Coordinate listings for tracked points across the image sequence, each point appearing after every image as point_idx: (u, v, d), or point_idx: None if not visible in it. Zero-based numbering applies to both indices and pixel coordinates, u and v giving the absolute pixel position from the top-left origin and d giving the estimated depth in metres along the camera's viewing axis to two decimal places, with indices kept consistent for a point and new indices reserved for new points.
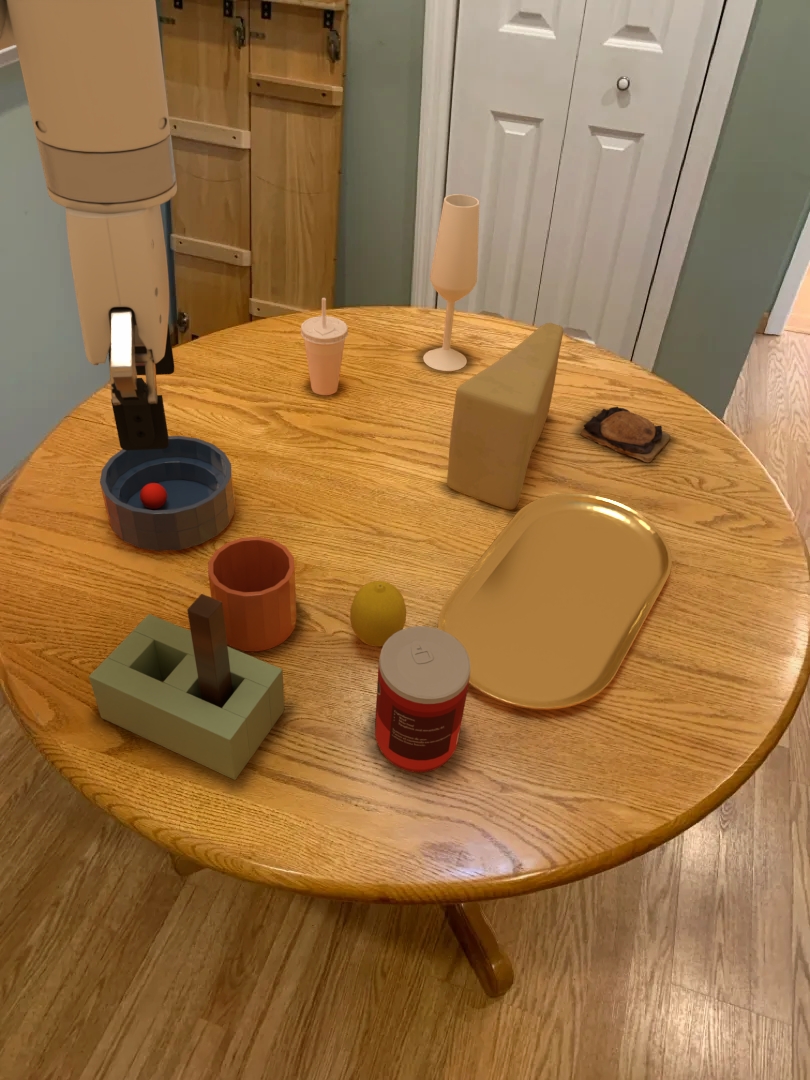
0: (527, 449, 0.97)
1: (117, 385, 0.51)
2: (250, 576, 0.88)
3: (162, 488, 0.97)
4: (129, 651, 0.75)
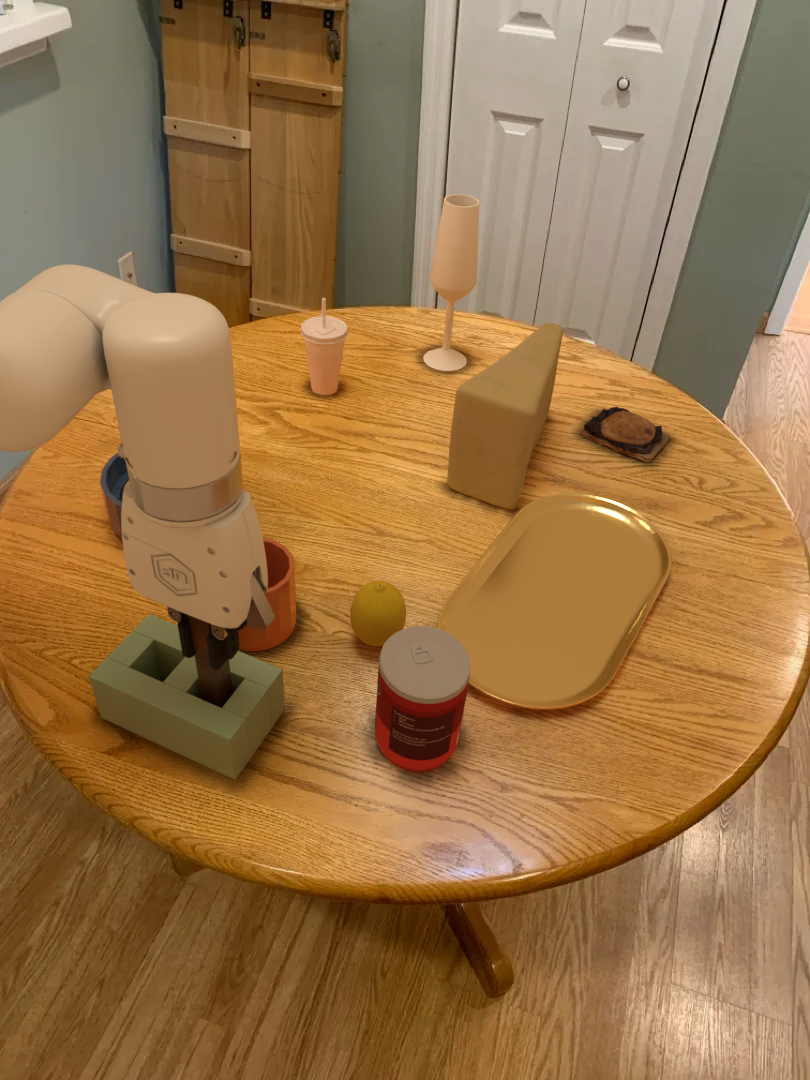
0: (527, 449, 0.97)
1: None
2: None
3: None
4: (129, 651, 0.75)
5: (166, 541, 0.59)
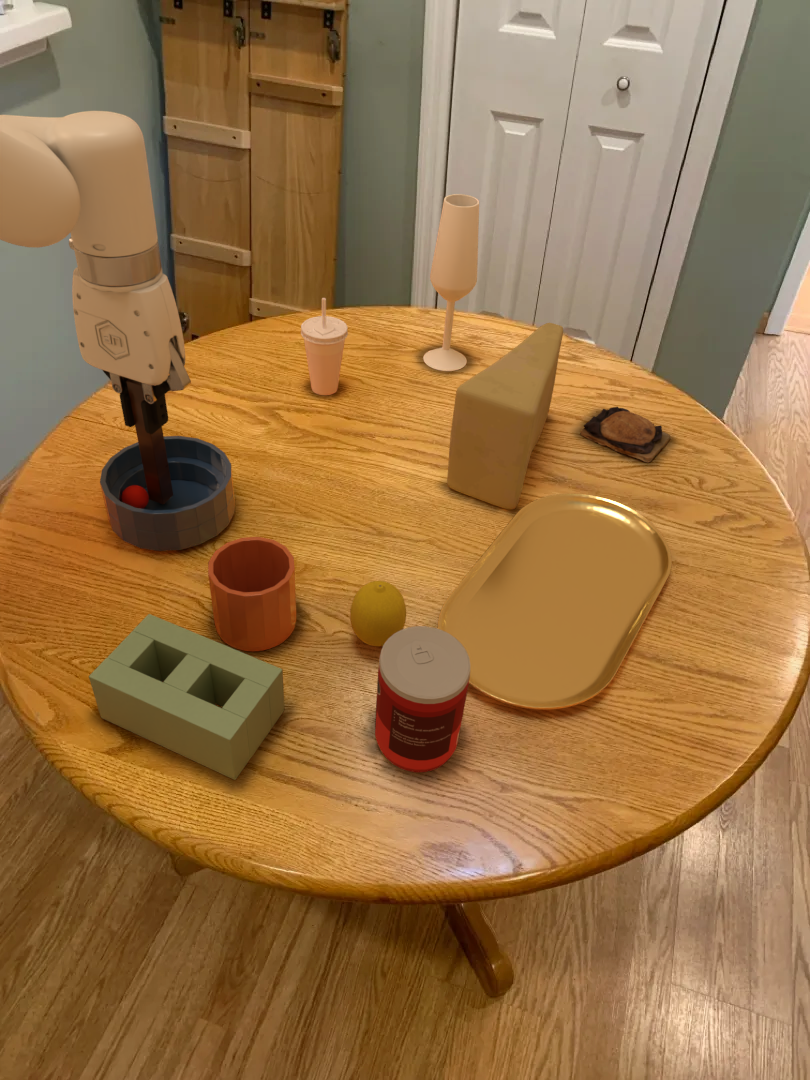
0: (527, 449, 0.97)
1: (176, 390, 0.86)
2: (250, 576, 0.88)
3: (126, 490, 0.96)
4: (129, 651, 0.75)
5: (104, 309, 0.80)
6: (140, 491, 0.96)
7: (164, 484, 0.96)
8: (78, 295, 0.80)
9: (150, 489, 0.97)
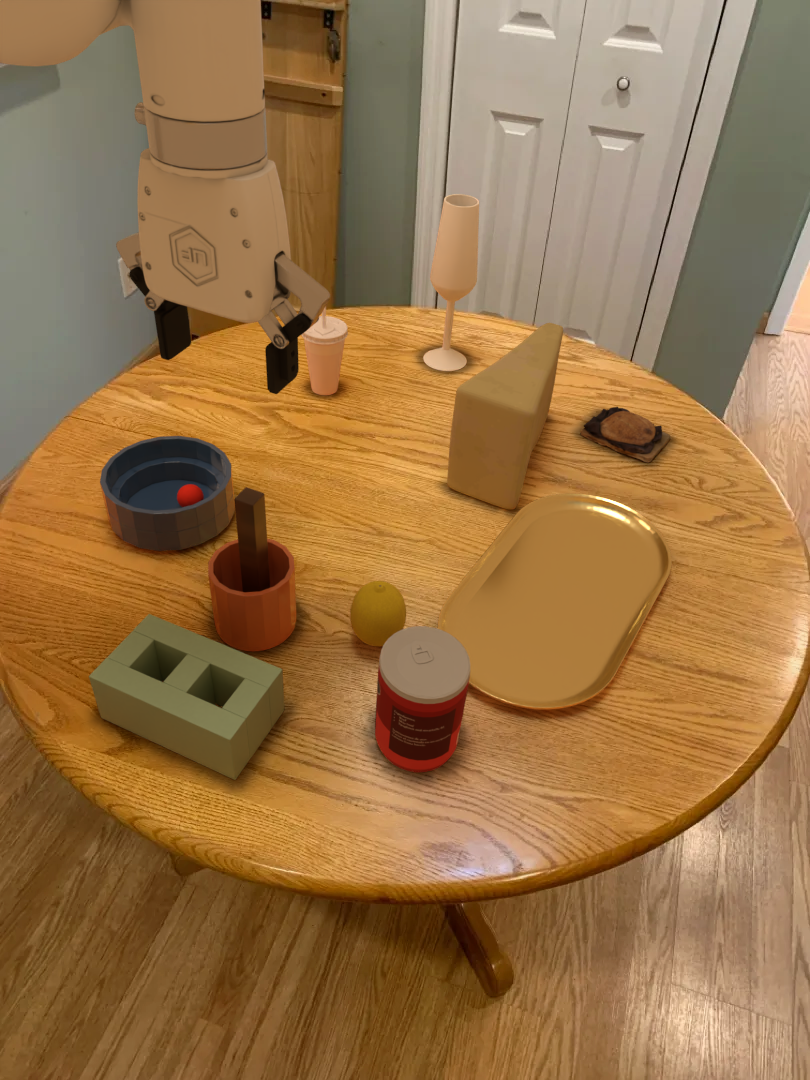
0: (527, 449, 0.97)
1: (316, 314, 0.59)
2: None
3: None
4: (129, 651, 0.75)
5: (186, 208, 0.55)
6: (178, 500, 0.97)
7: None
8: (147, 189, 0.56)
9: None
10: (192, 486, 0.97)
